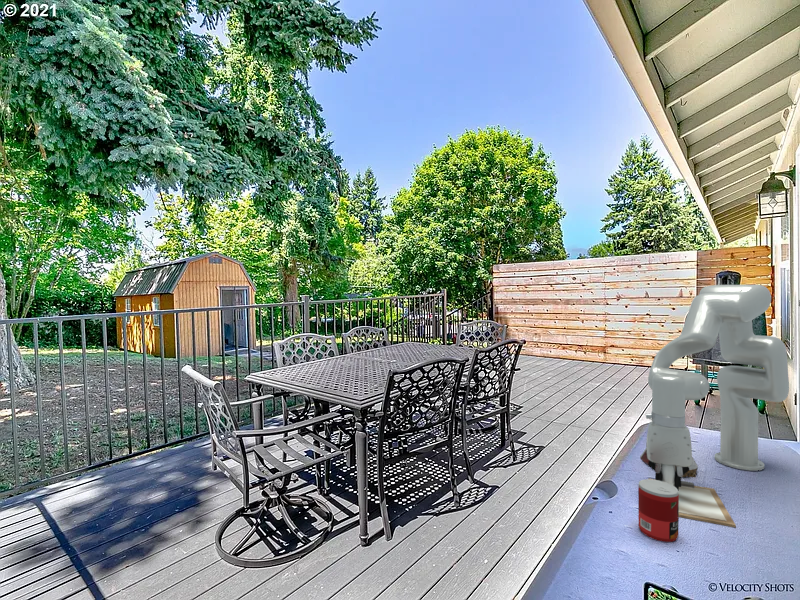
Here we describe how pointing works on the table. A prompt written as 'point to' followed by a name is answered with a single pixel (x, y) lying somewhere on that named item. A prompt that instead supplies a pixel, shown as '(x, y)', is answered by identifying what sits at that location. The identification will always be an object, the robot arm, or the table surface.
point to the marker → (668, 474)
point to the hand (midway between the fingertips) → (668, 486)
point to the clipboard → (702, 505)
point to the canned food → (658, 510)
